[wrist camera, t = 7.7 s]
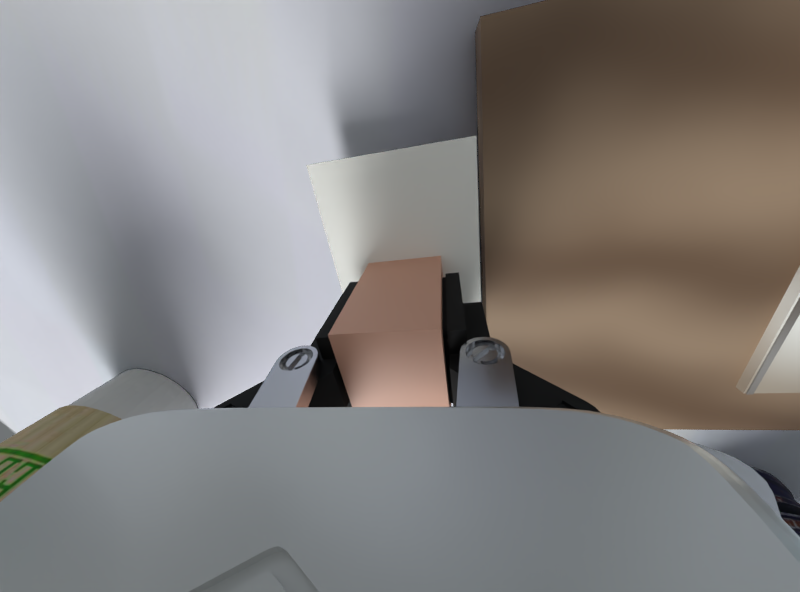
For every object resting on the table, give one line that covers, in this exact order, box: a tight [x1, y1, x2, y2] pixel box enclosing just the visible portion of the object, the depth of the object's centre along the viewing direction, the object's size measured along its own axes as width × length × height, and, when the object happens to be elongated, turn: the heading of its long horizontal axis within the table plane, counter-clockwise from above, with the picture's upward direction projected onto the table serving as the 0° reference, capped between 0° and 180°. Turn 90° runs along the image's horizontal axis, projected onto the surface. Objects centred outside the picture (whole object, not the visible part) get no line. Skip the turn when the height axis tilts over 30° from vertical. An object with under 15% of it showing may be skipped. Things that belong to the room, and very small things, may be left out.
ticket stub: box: [306, 136, 481, 407], centre depth 11 cm, size 12×6×5 cm, turn 9°
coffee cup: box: [0, 369, 197, 502], centre depth 15 cm, size 10×10×15 cm
